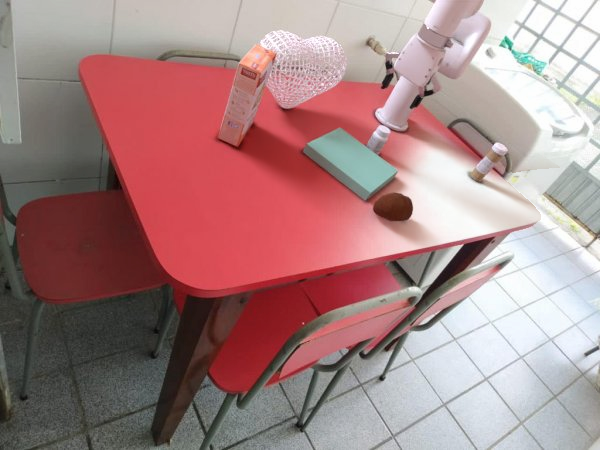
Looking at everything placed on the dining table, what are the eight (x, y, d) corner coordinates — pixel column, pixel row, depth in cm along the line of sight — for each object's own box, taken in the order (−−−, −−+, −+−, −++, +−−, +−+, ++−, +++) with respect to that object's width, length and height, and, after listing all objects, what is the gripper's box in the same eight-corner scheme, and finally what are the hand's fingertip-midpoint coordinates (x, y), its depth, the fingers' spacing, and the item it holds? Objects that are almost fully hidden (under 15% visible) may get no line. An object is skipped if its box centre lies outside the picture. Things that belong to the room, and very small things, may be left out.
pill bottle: (380, 152, 127) (393, 130, 122) (376, 158, 124) (389, 136, 118) (367, 144, 128) (379, 122, 122) (362, 150, 124) (375, 127, 118)
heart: (308, 94, 137) (335, 29, 122) (332, 122, 129) (364, 56, 115) (234, 91, 121) (254, 16, 106) (257, 124, 113) (282, 48, 98)
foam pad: (335, 135, 125) (340, 127, 123) (393, 178, 119) (398, 170, 117) (302, 152, 112) (306, 143, 110) (365, 201, 107) (370, 193, 105)
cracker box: (238, 148, 103) (262, 73, 89) (216, 139, 102) (237, 61, 88) (254, 123, 113) (278, 52, 99) (234, 114, 112) (255, 41, 99)
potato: (412, 228, 106) (429, 207, 100) (376, 229, 100) (392, 206, 95) (398, 207, 110) (414, 186, 105) (364, 206, 105) (378, 184, 99)
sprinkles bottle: (475, 173, 141) (501, 142, 132) (483, 182, 139) (511, 151, 130) (466, 173, 139) (493, 141, 130) (475, 182, 136) (502, 151, 127)
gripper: (467, 53, 101) (428, 112, 112) (410, 18, 105) (378, 78, 116) (458, 57, 95) (418, 118, 107) (398, 20, 99) (366, 82, 111)
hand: (397, 97), depth 111 cm, fingers open, 9 cm apart
